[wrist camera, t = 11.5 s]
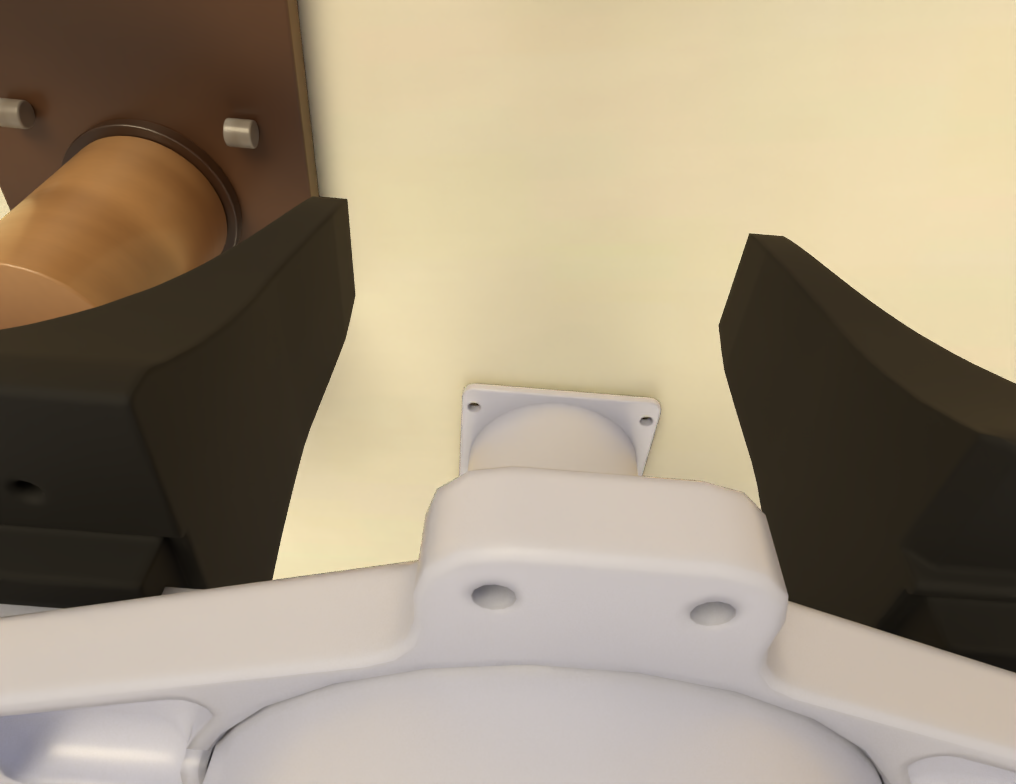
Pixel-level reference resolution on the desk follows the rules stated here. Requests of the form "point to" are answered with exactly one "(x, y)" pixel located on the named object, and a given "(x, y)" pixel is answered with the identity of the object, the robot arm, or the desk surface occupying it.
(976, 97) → the desk surface
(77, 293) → the battery
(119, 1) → the base board
